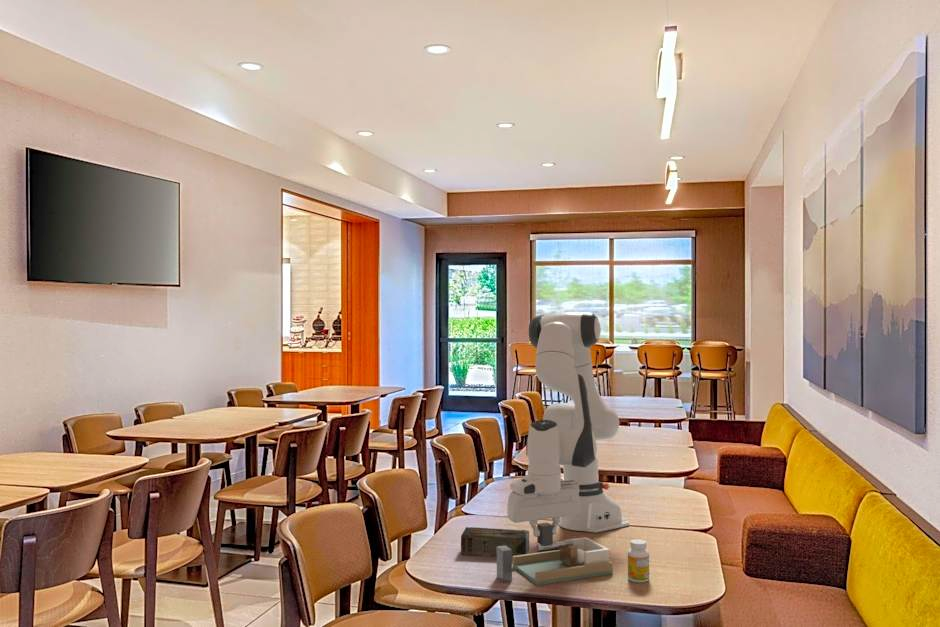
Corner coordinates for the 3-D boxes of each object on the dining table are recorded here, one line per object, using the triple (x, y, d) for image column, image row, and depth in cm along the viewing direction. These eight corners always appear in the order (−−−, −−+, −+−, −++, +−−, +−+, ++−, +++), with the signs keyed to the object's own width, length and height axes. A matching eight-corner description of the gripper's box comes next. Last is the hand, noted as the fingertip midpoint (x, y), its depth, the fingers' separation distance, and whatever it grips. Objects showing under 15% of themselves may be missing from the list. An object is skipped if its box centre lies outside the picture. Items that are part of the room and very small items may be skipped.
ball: (567, 550, 208) (571, 564, 209) (574, 555, 205) (578, 569, 205) (579, 544, 210) (583, 558, 210) (587, 548, 206) (591, 562, 207)
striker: (566, 559, 209) (566, 518, 209) (577, 566, 204) (577, 524, 204) (533, 564, 206) (533, 522, 206) (543, 571, 200) (543, 528, 200)
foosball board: (584, 556, 217) (583, 535, 217) (612, 573, 203) (612, 551, 203) (512, 567, 209) (512, 545, 209) (537, 585, 195) (537, 561, 195)
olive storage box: (527, 559, 216) (526, 535, 216) (459, 556, 219) (459, 533, 219) (529, 550, 224) (529, 527, 224) (464, 547, 227) (464, 525, 227)
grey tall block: (505, 575, 202) (505, 545, 202) (512, 580, 198) (511, 549, 198) (496, 577, 201) (496, 546, 201) (503, 582, 197) (502, 550, 197)
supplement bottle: (625, 576, 201) (625, 538, 201) (645, 575, 201) (645, 538, 201) (631, 583, 196) (631, 545, 195) (652, 582, 196) (651, 544, 196)
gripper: (573, 476, 210) (573, 527, 211) (504, 483, 203) (505, 536, 203) (584, 481, 205) (585, 533, 205) (514, 489, 197) (515, 543, 197)
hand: (544, 535), depth 204 cm, fingers closed on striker, 3 cm apart
